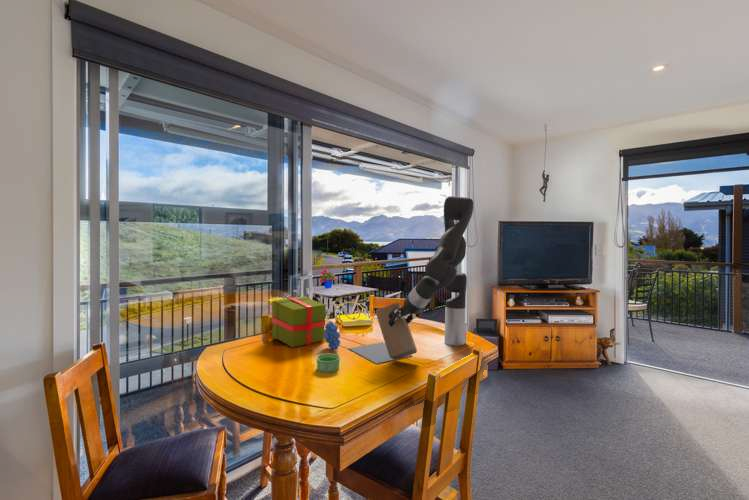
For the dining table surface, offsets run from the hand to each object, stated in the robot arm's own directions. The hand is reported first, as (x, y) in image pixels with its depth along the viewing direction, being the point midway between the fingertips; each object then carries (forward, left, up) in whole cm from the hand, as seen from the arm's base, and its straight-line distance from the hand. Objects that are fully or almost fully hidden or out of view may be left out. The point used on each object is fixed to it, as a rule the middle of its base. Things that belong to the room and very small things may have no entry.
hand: (398, 323), depth 147 cm
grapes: (+16, -28, -16) cm, 36 cm away
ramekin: (+27, -8, -16) cm, 32 cm away
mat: (0, -13, -16) cm, 20 cm away
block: (0, +4, -12) cm, 13 cm away
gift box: (+23, -50, -16) cm, 57 cm away
